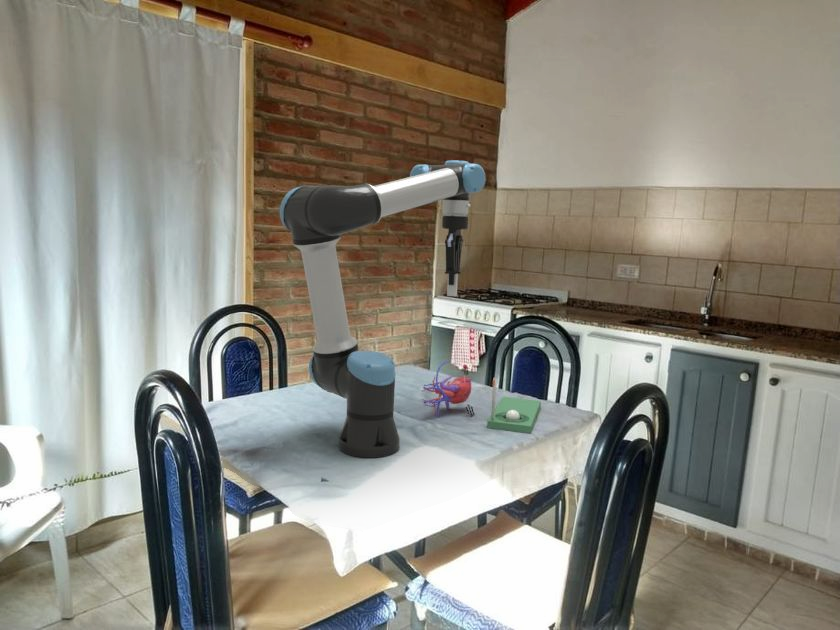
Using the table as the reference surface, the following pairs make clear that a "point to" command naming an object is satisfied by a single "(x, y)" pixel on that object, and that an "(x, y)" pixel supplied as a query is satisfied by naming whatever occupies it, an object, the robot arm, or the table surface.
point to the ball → (512, 415)
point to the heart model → (450, 391)
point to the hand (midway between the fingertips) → (451, 295)
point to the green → (522, 406)
